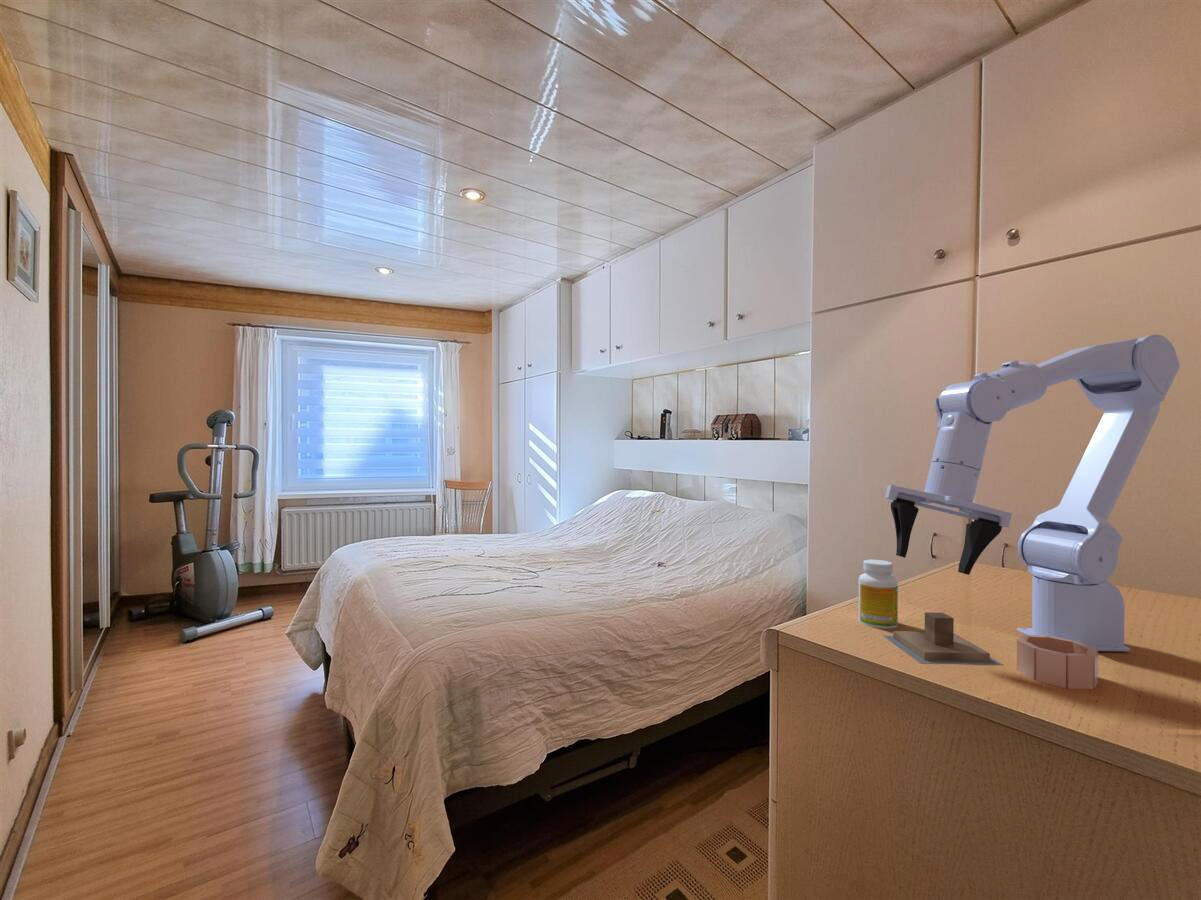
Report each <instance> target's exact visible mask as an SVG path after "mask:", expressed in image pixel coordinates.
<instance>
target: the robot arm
mask: <svg viewBox="0 0 1201 900" xmlns="http://www.w3.org/2000/svg"><path fill="white" fill-rule="evenodd" d="M1180 367H1181V365H1180V363H1179V358H1178V356H1177V352H1176V348H1175V346H1174V345H1173V343H1172V342H1171V341H1170V340H1169V339H1168V338H1167V337H1165V336H1164V335H1161V334H1156V333H1155V334H1154V333H1153V334H1148V335H1146V336H1142V337H1138V338H1131V339H1126V340H1125V339H1124V340H1120V341H1119V340H1118V341H1113V342H1106V343H1102V344H1101V343H1100V344H1095V345H1086V346H1083V347H1078V348H1074V349H1071V350H1069V351H1067V352H1064V353H1061V354H1059V355H1057V356H1054V357H1052V358H1050V359H1048V360H1045V361H1043V362H1040V363H1038V364H1034V363H1032V362H1028V361H1020V362H1019V360H1018V359H1016V360H1011V361H1010V360H1009V361H1006V362H1003V363H1002V364H1001V368H1000V369H998V370H994V371H992V372H989V373H988V372H979V373H977V374H974V375H973V379H972V380H970V381H965V382H964V381H963V382H957V383H952V384H950V385H948V386H947V387H945V388H944V390H943V391H942V392H941V394H939V396H938V397H935V400H934V410H935V412H936V415H937V419H938V420H937V425H936V428H937V431H938V433H937V437H936V440H935V445H934V450H933V453H932V458H931V462H930V464H929V466H930V467H929V470H928V474H927V477H926V481H925V487H924V490H918V489H913V488H909V487H904V486H899V485H895V484H889V485H887V488H886V493H885V496H884V499H886V500H890V501H891V502H890V511H891V514H892V518H893V523H894V526H895V527H894V529H895V534H896V535H895V536H896V552H895V555H896V556H897V557H901V558H906V557H907V553H908V549H909V545H910V540H911V534H912V531H913V528H914V524H915V521H916V520H917V516H918V514H919V507H921V508H923V509H924V508H925V509H929V510H933V511H937V512H942V513H945V514H950V515H954V516H958V517H962V518H965V519H970V520H972V521H971V522H969V523H966V524H965V535H964V537H965V538H964V544H963V550H962V551H961V552H962V553H961V556H960V559H959V563H958V570H957V573H960V574H964V575H968V576H970V575H971V572H972V569H973V568H974V565H975V563H976V562H977V561H978V559H979V557H980V556H981V554H983V552H984V551H985V549H986V548H987V547H988V546H989V544H990V543H992V541H993V540H994V539H995V538H997V537H998V535H1000V533H1001V532H1002V531H1003V530H1002V529H1003V528H1010V523H1011V519H1012V515H1013V513H1012V512H1008V511H1005V510H1001V509H996V508H993V507H990V506H986V505H982V504H978V503H976V502H974V499H975V495H976V492H977V487H978V483H979V478H980V475H981V470H982V466H983V461H984V458H985V454H986V449H987V446H988V441H989V437H990V433H991V429H992V425H993V422H1001V420H1002V419H1003V418H1005V416H1006V414H1007V413H1008V412H1010V411H1012V410H1015V409H1017V408H1020V407H1023V406H1026V405H1028V404H1031V403H1033V402H1035V401H1038V400H1040V399H1041V398H1043V396H1045V394H1046V392H1047V389H1048V387H1050V386H1051V387H1052V386H1054V385H1056V384H1060V383H1063V382H1066V381H1070V380H1073V381H1074V380H1075V381H1076V383H1077V384H1078V385H1079V387H1080V388H1081V390H1082V392H1083V393H1084V394H1085V396H1086V397H1087V399H1088V400H1089V402H1090V403H1091V404H1092V406H1093V407H1096V408H1098V409H1101V410H1102V412H1103V415H1102V417H1101V418H1100V420H1099V423H1098V425H1097V427H1096V429H1095V431H1094V433H1093V434H1092V436H1091V439H1090V441H1089V443H1088V445H1087V447H1086V449H1085V451H1084V453H1083V455H1082V458H1081V459H1080V462H1079V463H1078V465H1077V467H1076V469H1075V472H1074V474H1073V475H1072V477H1071V479H1070V482H1069V484H1068V486H1067V487H1066V490H1065V492H1064V494H1063V496H1062V498H1061V500H1060V502H1059V504H1058V505H1057V506H1055V507H1053V508H1051V509H1049V510H1046V511H1044V512H1042V513H1040V514H1038V515H1037V516H1036V517H1035V519H1034V521H1033V523H1032V524H1031V525H1030V526H1029V527H1028V528H1027V529H1025V530H1023V532H1022V534H1021V535H1020V537H1019V539H1018V541H1017V553H1018V557H1019V559H1020V561H1021V562H1022V563H1023V564H1024V565H1025V566H1026V567H1027V573H1028V574H1031V576H1032V579H1031V580H1032V584H1031V586H1032V588H1031V589H1032V590H1031V591H1032V595H1031V596H1032V599H1031V604H1032V605H1031V608H1032V609H1031V611H1032V613H1031V614H1032V615H1031V617H1032V619H1031V621H1032V622H1031V623H1032V624H1031V625H1032V626H1031V627H1030V628H1029V627H1017V628H1016V631H1018V632H1020V633H1022V634H1023V635H1046V636H1048V635H1049V636H1054V637H1059V638H1064V639H1069V640H1074V641H1076V642H1080V643H1083V644H1085V645H1087V646H1090V647H1092V648H1094V649H1097V650H1098V652H1130V651H1131V648H1130V647H1128V646H1126V645H1125V608H1126V607H1125V606H1126V605H1125V601H1124V597H1123V595H1122V593H1121V590H1119V588H1118V587H1117V586H1116V585H1115V584H1113V583H1112V582H1110V581H1108V580H1109V579H1110V578H1111V577H1112V576H1113V574H1114V573H1115V571H1116V569H1117V567H1118V564H1119V563H1118V562H1119V548H1120V547H1121V545H1122V542H1123V540H1124V539H1123V537H1122V536H1121V534H1120V533H1119V532H1118V530H1117V529H1116V528H1115V527H1114V526H1113V525H1112V524H1111V523H1110V522H1109V521H1108V520H1109V517H1110V515H1111V513H1112V512H1113V509H1114V507H1115V505H1116V503H1117V501H1118V499H1119V496H1120V495H1121V492H1123V491H1122V490H1123V488H1124V486H1125V484H1126V482H1127V480H1128V478H1129V476H1130V473H1132V470H1133V468H1134V465H1135V464H1136V462H1137V459H1138V457H1139V455H1140V454H1141V452H1142V449H1143V446H1145V445H1144V444H1145V442H1146V441H1147V439H1148V436H1149V434H1150V432H1151V430H1152V428H1153V426H1154V424H1155V422H1156V419H1157V418H1158V415H1159V411H1160V407H1161V404H1162V402H1163V401H1164V400H1165V398H1166V396H1167V394H1168V393H1169V390H1170V388H1171V386H1172V384H1173V382H1174V380H1175V377H1176V376H1177V374H1178V371H1179V369H1180ZM932 504H935V505H932ZM937 505H939V506H937ZM941 506H944V507H941ZM945 507H948V508H951V509H948V508H945ZM953 509H957V510H958V511H956V510H953Z"/></svg>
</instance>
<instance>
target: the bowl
mask: <svg viewBox="0 0 1201 900" xmlns="http://www.w3.org/2000/svg"><path fill="white" fill-rule="evenodd" d="M1098 657H1099V651H1098V650H1097V649H1094V648H1092V647H1090V646H1087V645H1085V644H1083V643H1080V642H1076V641H1074V640H1069V639H1064V638H1059V637H1054V636H1049V635H1048V636H1046V635H1026V634H1021V635H1020V636H1019V637H1018V638H1017V640H1016V671H1017V672H1019V673H1021V674H1023V675H1025V676H1026V677H1028V678H1030V679H1031V680H1032V681H1033V680H1034V681H1036V682H1039V683H1043V684H1048V685H1052V686H1055V687H1059V688H1064V689H1066V688H1067V689H1068V690H1071V689H1073V690H1095V689H1096V687H1097V684H1098V683H1099V682H1098V681H1099V680H1098V676H1099V674H1098V673H1099V671H1098V670H1099V668H1098V666H1099V663H1098V662H1099V661H1098V660H1099V658H1098Z"/></svg>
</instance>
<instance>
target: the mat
mask: <svg viewBox="0 0 1201 900" xmlns="http://www.w3.org/2000/svg"><path fill="white" fill-rule="evenodd" d="M883 638H884V639H886V640H888V642H890V643H892V644H893V645H895V646H896V647H897V648H899V649H900V650H901V651H902V652H904V653H905V654H907V655H908V656H910V657H911V658H913V659H914V660H915V661H917V662H918V663H919V664H928V665H929V664H930V665H931V664H933V665H935V664H937V665H975V666H976V665H981V666H985V665H987V666H1004V664H1003V663H1001V662H999V660H998V661H997V660H996V659H995V658H994V657H991V656H990V661H947V660H924V659H922V658H921V657H919V656H918V655H916V654H915V653H914V652H912V651H911V650H909V649H908V648H907V647H905V646H904V645H902V644H901V643H900V642H898V641H897V640H895V639H894V638H893V635H883Z"/></svg>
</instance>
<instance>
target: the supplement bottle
mask: <svg viewBox="0 0 1201 900" xmlns="http://www.w3.org/2000/svg"><path fill="white" fill-rule="evenodd" d="M863 571H864V573H862V574H860V575H859V577H858V583H857V584H858V598H857V599H858V600H857V601H858V603H857V605H858V606H857V608H858V609H857V612H858V613H857V616H858V622H859V623H860V624H861V625H864V626H866V627H870V628H871V627H872V628H877V629H895V628H897V627H898V623H899V622H898V619H899V617H898V613H899V611H898V609H899V608H898V606H899V605H898V603H899V599H898V597H899V596H898V594H899V593H898V592H899V589H898V588H899V583H898V580H897V578H896V577H894V576H893V575H892V574H893V563H892V562H890V561H888V560H881V559H864V560H863Z"/></svg>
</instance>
